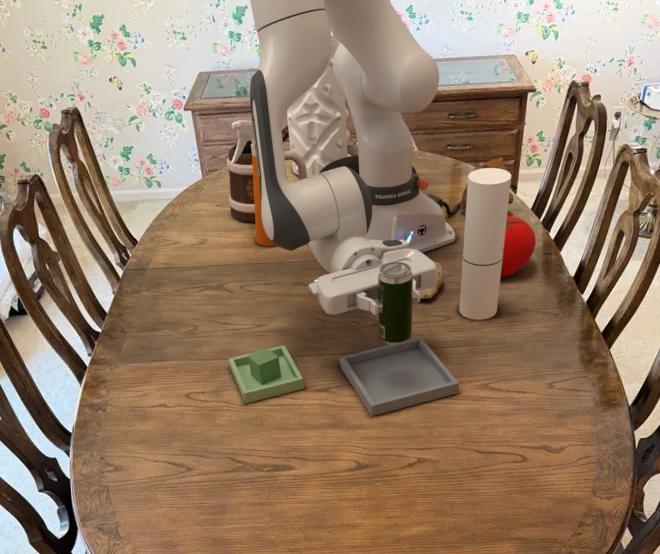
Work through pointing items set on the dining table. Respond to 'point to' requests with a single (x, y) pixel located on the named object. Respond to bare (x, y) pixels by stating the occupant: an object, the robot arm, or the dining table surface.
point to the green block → (264, 365)
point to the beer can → (395, 303)
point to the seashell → (431, 291)
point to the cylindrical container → (484, 241)
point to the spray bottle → (247, 130)
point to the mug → (250, 181)
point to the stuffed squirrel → (490, 164)
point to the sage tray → (278, 386)
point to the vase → (319, 122)
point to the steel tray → (398, 376)
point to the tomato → (517, 245)
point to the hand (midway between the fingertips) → (398, 304)
